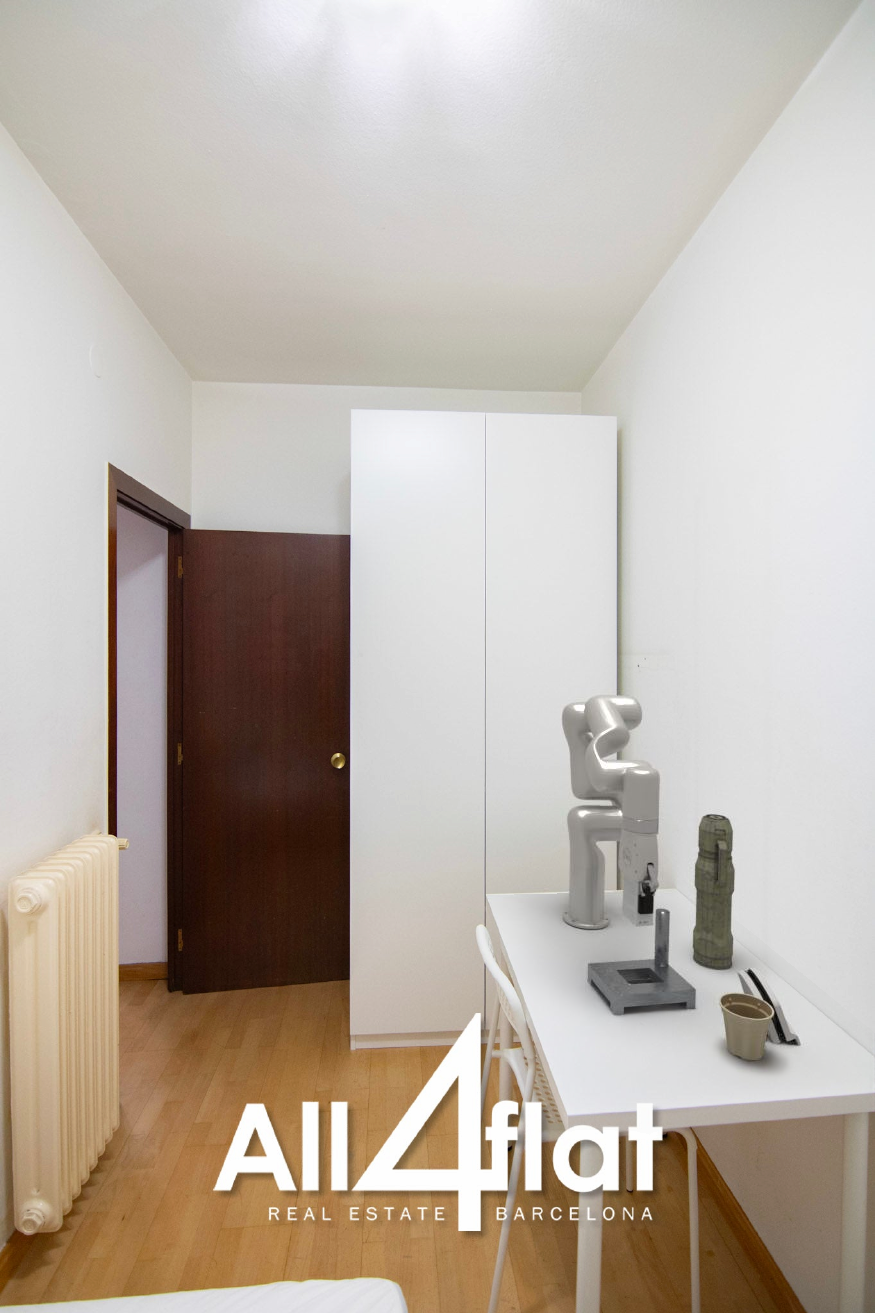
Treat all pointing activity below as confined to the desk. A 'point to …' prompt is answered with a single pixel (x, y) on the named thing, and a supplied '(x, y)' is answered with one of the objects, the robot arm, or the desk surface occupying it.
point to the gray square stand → (644, 976)
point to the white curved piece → (760, 988)
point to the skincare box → (634, 903)
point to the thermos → (714, 893)
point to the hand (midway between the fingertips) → (637, 906)
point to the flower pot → (745, 1024)
